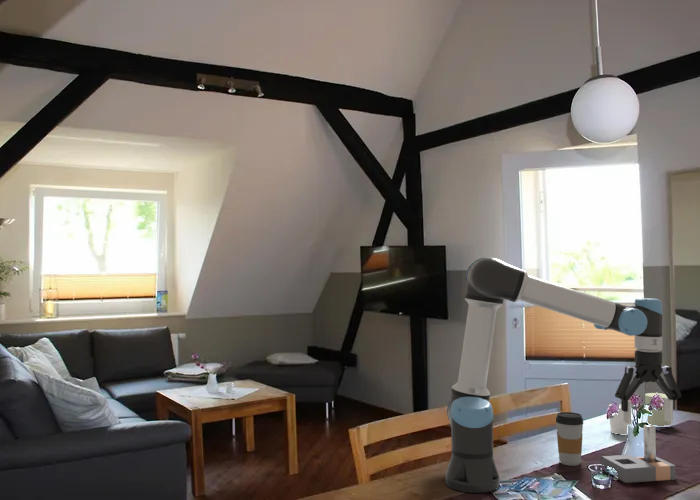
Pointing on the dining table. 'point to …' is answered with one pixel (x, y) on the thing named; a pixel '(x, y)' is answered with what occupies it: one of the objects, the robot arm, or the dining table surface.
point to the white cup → (618, 422)
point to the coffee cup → (569, 437)
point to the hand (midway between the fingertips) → (648, 421)
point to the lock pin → (649, 444)
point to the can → (657, 416)
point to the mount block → (640, 468)
